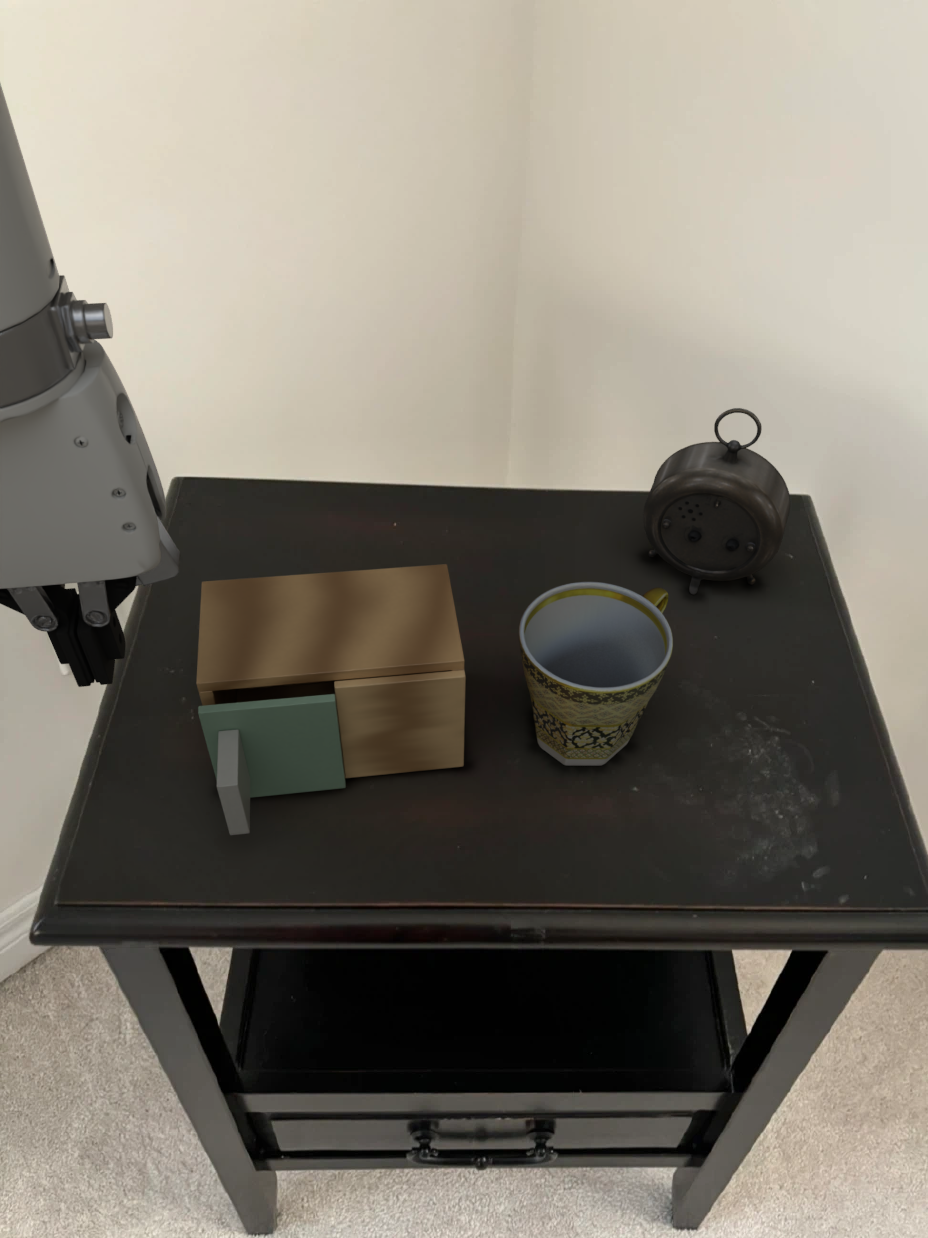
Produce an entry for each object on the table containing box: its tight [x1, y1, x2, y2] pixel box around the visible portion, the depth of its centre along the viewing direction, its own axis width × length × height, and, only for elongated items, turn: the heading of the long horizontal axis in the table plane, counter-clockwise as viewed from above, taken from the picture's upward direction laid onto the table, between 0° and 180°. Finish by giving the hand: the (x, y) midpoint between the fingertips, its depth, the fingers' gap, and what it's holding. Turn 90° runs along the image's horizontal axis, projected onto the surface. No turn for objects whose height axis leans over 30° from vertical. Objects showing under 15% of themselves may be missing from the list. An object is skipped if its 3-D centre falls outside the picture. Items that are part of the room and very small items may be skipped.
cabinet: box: [196, 563, 467, 779], centre depth 69 cm, size 16×10×11 cm, turn 99°
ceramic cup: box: [518, 581, 674, 767], centre depth 71 cm, size 13×10×10 cm
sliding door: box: [197, 694, 347, 836], centre depth 63 cm, size 8×5×9 cm, turn 99°
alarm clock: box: [642, 407, 791, 595], centre depth 79 cm, size 11×5×16 cm, turn 71°
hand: (98, 665), depth 53 cm, fingers closed
